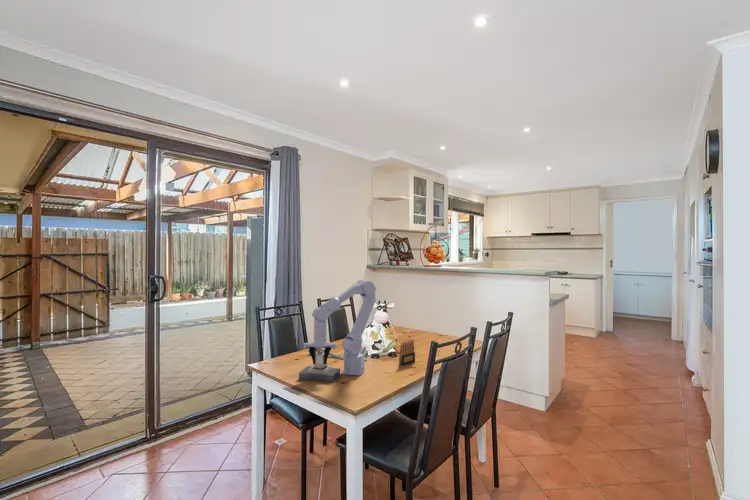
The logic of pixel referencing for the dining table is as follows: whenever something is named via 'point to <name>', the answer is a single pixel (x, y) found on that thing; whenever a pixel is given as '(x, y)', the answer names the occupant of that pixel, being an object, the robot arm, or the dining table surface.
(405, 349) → the ammunition clip
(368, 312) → the robot arm
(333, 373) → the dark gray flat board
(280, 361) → the dining table surface
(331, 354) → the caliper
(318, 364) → the white capped cylinder
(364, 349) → the metal bracket
